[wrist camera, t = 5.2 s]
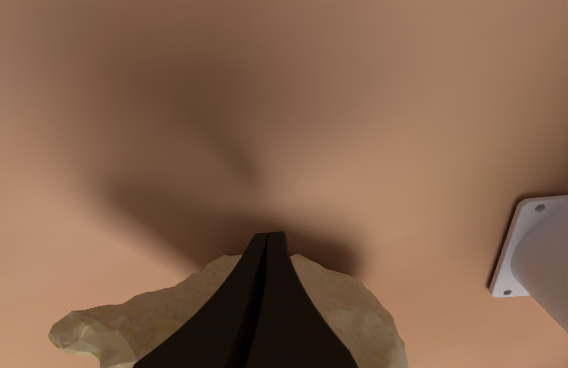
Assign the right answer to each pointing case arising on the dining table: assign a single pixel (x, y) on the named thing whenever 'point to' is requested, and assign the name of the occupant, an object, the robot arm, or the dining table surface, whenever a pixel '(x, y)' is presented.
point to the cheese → (198, 290)
